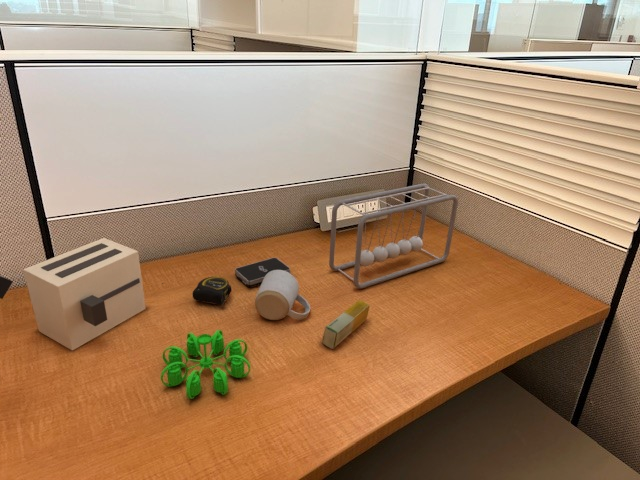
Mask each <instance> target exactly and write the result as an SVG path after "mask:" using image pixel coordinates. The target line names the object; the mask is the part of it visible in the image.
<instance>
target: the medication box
mask: <svg viewBox="0 0 640 480" xmlns="http://www.w3.org/2000/svg"><path fill="white" fill-rule="evenodd" d="M370 306H371V305H370V304H369V303H368V302H365V301H364V300H363V299H358V300H357V301H355V302H354V303H352V305H350V307H349V306H348V308H347V309H345V310H344V311H343V312H342V313H341V314H339V315H338V316H337V317H336V318H335V319H333V320H332V321H331V322H330V323H328V324H327V325H326V326H324V331H323V336H322V342H321V343H322V345H323V346H325V347H326V348H328V349H330V350H334V349H335V348H336V347H337V346H338V345H339V344H340V343H342V342H343V341H344V340H345V339H346V338H347V337H348V336H350V335H351V334H352V333H353V332H355V330H356V329H358V328H359V326H361V325H362V324H363V323H364V322H365V321H367V320H368V319H367V318H368V315H369V310H370Z"/></svg>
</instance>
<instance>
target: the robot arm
mask: <svg viewBox="0 0 640 480" xmlns="http://www.w3.org/2000/svg"><path fill="white" fill-rule="evenodd" d="M13 283H14V280H11V279H9V278H7V277H4V276H1V275H0V299H1V300H3V299H4V298H5V296H6V294H7V292H8V291H9V290H10V287H11V286H12V284H13Z"/></svg>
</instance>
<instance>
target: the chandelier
mask: <svg viewBox="0 0 640 480" xmlns="http://www.w3.org/2000/svg"><path fill="white" fill-rule="evenodd" d="M241 343H244V350H243V347H242V344H241ZM209 344H210V349H211V351H210V353H209V355H208V351H207V345H209ZM201 346H203V354H204V355H202V353H201ZM167 351H168V359H167V358H166V352H167ZM227 351H228V357H227ZM247 351H248V345H247V343H246V342H245V340H243V339H240V338H236V339H233V340H232V341H230V342H229V343H227V345H225V341H224V333H223V330H222V329H217V330H216V331H215V332H214V333H213V334H212V335H211V334H209V333H203V334H200V335H198V336H196V335H195V334H194V333H193V332H189V333H187V335H186V351H185V350H184V349H182V348H181V347H178V346H175V345H174V346H173V345H172V346H168V347H166V348H165V349H164V351H163V352H162V360H163V362H164V364H166V366H165V367H164V368H163V370H162V371H161V374H160V381H161V382H162V384H163V385H164V386H165V387H170V388H171V387H176V386H179V385H180V384H182V383H183V381H184V380H185V379H186V381H185V387H186V389H185V392H186V393H185V394H186V397H187V399H189V400H190V399H191V400H193V399H195V397H196V396H198V395H199V394H200V393H201V391H202V383H201V374H202V372H203V370H204V369H208V368H209V369H210V371H211V372H212V374H213V375H212V376H213V378H212V381H213V382H212V385H213V390H214V391H215V392H217V393H220V394H221V395H227V394H228V392H229V388H228V387H229V382H228V376H227V373H228V375H230V376H231V377H233V378H238V379H241V378H245V377H247V376H248V375H249V374H250V372H251V364H250V362H249V360H248V359H247V358H246V357H245V355H246V354H247ZM186 352H187V353H186ZM221 352H223V354H221V355H219V354H220V353H221ZM188 355H189V356H192V357H194V358H198V357H201V359H200V360H199V359H194V358H193V359H192V358H191V359H190V358H189V357H188ZM212 355H215V356H216V357H214V358H211V356H212ZM218 355H219V356H218ZM183 357H184V359H185V363H184V362H183ZM223 357H224V359H225V362H224V363H221V362H216V361H215V360H218V359H220V358H223ZM188 361H190V362H197V363H198V364H195V365H193V366H190V367H187V364H188ZM214 361H215V362H214ZM227 363H230V369H229V367H228V364H227ZM245 363H246V365H247V367H248V371H247V372H246V373H245ZM213 365H217V366H218V365H220V366H224V368H225V371H226V372H225V371H224V370H222V368H220V367H219V366H218V367H215V368H212V366H213ZM196 367H200V370H196V369H195V368H196ZM183 368H185V372H184V374H183V373H182V369H183ZM191 369H194V370H192V371H191V373H190V374H189V375H188V373H189V370H191ZM165 373H166V375H167V382H165V381H164V375H165Z"/></svg>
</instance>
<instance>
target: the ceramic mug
mask: <svg viewBox="0 0 640 480" xmlns="http://www.w3.org/2000/svg"><path fill="white" fill-rule="evenodd" d="M299 291H300V283H299V282H298V280H297V278H296V277H295V276H294V275H293V274H291V272H290V273H288V272H286V271H283V270H273V271H270V272H269V273H267V274H266V276H265V277H264V279H263V282H262V284H260V285H259V288H258V290H257V292H256V295H255V298H254V307H255V310H256V311H257V313H258V314H259V315H260V316H261V317H263V318H265V319H267V320H270V321H279V320H281V319H284V318H285V317H286V316H289V317H290V318H292V319H296V320H304V319H306V318H307V317H308V315H309V314H310V311H311V305H310V303H309V302H308V300H307V299H306V298H305V297H304V296H303V295H301V294H299ZM296 301H297V303H299V304H300V305H301V306H302V307H303V308H304V309H305V311H304V312H303V313H300V312H296V311H295V310H293V309H292V308H293V305H294V303H295V302H296Z"/></svg>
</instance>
